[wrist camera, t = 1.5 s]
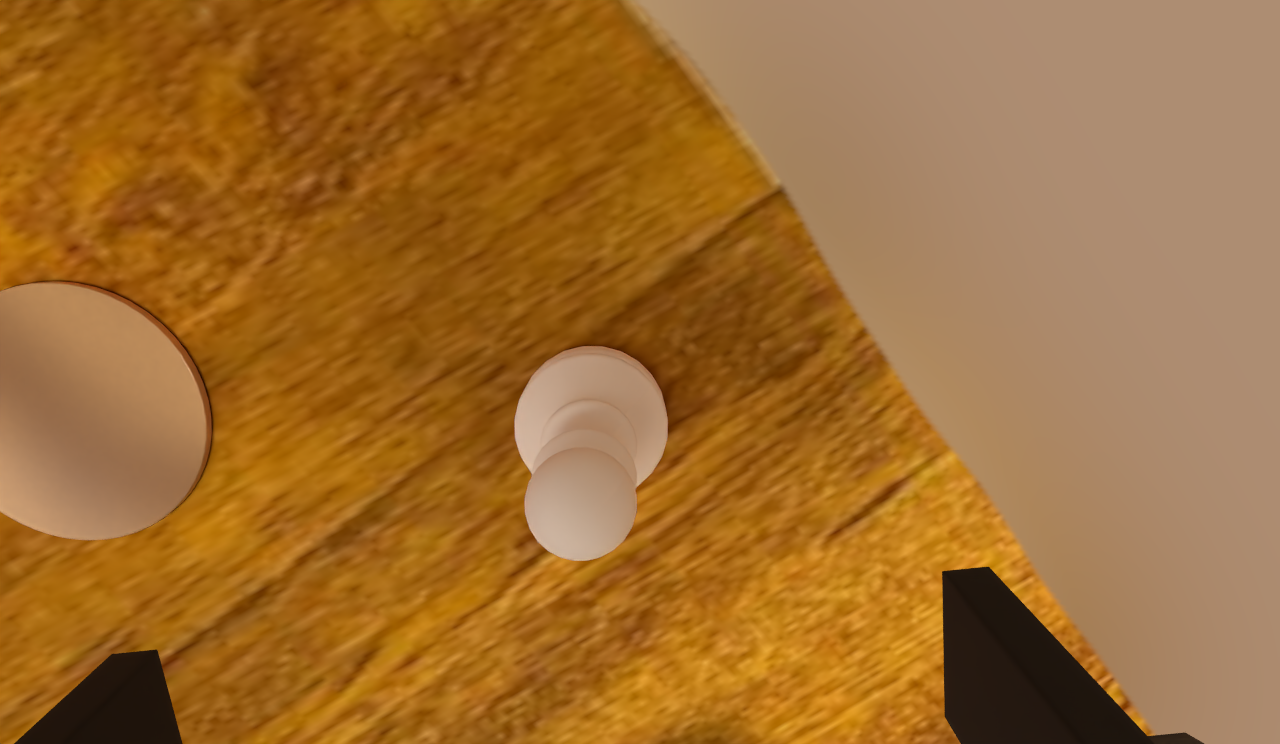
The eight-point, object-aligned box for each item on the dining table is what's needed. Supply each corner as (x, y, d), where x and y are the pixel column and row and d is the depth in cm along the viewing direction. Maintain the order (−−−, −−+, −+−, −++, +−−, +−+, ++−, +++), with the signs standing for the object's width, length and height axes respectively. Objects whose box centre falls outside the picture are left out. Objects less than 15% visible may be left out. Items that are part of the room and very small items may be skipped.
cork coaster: (-24, 236, 26) (-34, 237, 26) (246, 347, 27) (241, 350, 27) (-86, 477, 28) (-96, 481, 28) (169, 572, 29) (162, 578, 29)
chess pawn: (580, 511, 29) (560, 659, 20) (489, 402, 28) (426, 507, 19) (695, 428, 28) (726, 544, 19) (606, 314, 27) (596, 381, 18)
